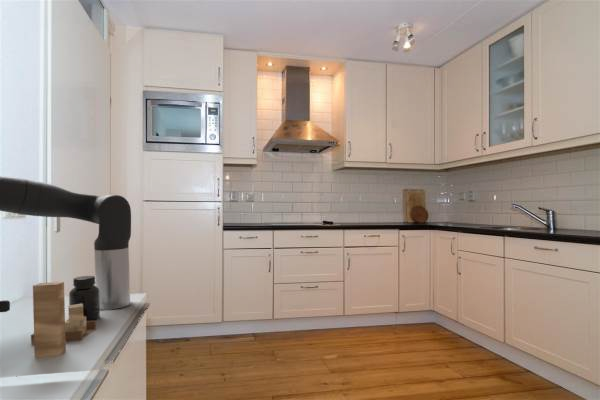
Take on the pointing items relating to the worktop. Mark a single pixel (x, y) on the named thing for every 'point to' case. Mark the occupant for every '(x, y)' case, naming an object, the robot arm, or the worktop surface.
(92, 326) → the walnut rack
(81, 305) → the small pine offcut
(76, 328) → the pine offcut
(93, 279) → the supplement bottle
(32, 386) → the worktop surface
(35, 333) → the oak board
